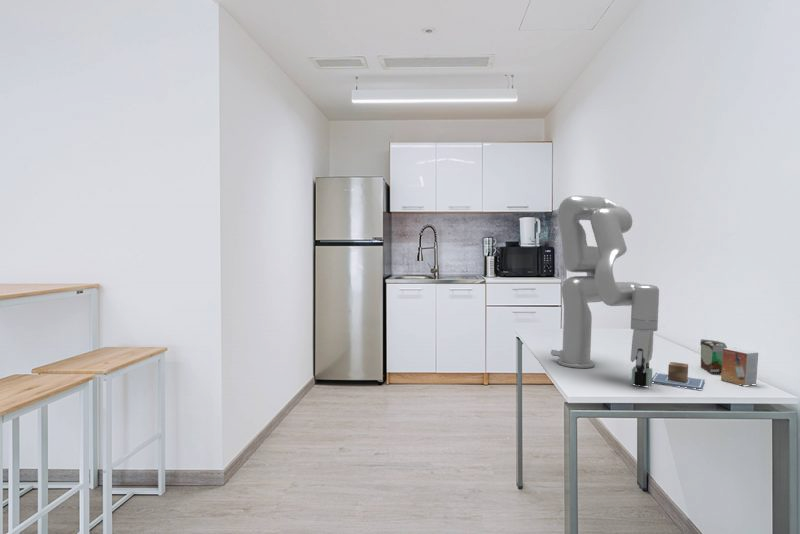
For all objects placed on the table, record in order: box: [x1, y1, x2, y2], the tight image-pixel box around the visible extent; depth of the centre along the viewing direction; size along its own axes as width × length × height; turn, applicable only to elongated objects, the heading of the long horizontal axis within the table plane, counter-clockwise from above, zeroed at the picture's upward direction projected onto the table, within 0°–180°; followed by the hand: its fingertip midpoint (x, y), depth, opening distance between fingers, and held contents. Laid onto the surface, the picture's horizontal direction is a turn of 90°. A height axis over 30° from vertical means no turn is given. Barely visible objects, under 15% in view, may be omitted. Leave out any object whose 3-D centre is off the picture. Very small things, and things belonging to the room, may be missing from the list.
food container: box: [700, 339, 728, 375], centre depth 182 cm, size 12×6×10 cm, turn 168°
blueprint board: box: [652, 372, 706, 390], centre depth 167 cm, size 14×12×1 cm
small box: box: [720, 347, 759, 385], centre depth 168 cm, size 8×6×10 cm
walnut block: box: [667, 361, 689, 383], centre depth 167 cm, size 5×5×5 cm
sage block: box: [630, 365, 653, 387], centre depth 163 cm, size 5×5×5 cm
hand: (641, 382), depth 163 cm, fingers closed on sage block, 5 cm apart
